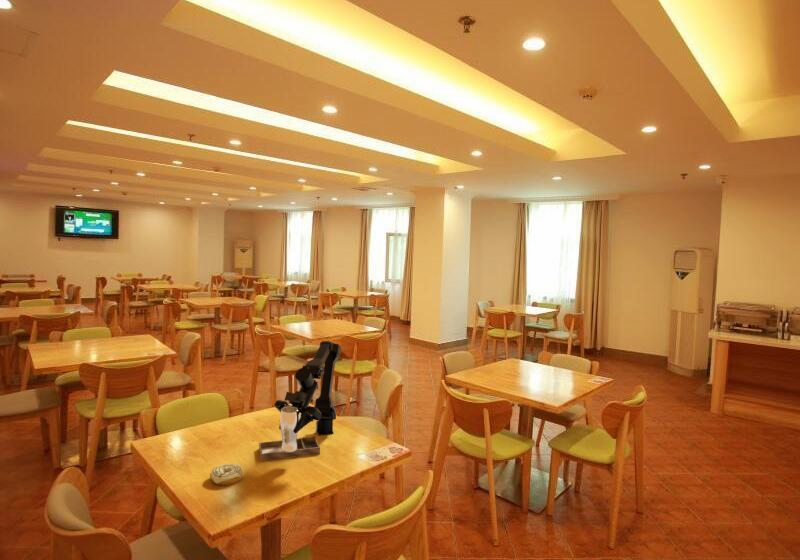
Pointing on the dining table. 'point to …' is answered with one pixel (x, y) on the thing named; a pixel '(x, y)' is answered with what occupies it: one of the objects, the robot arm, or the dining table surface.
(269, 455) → the box
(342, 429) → the dining table surface
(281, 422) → the metal cup
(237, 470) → the decorated donut
